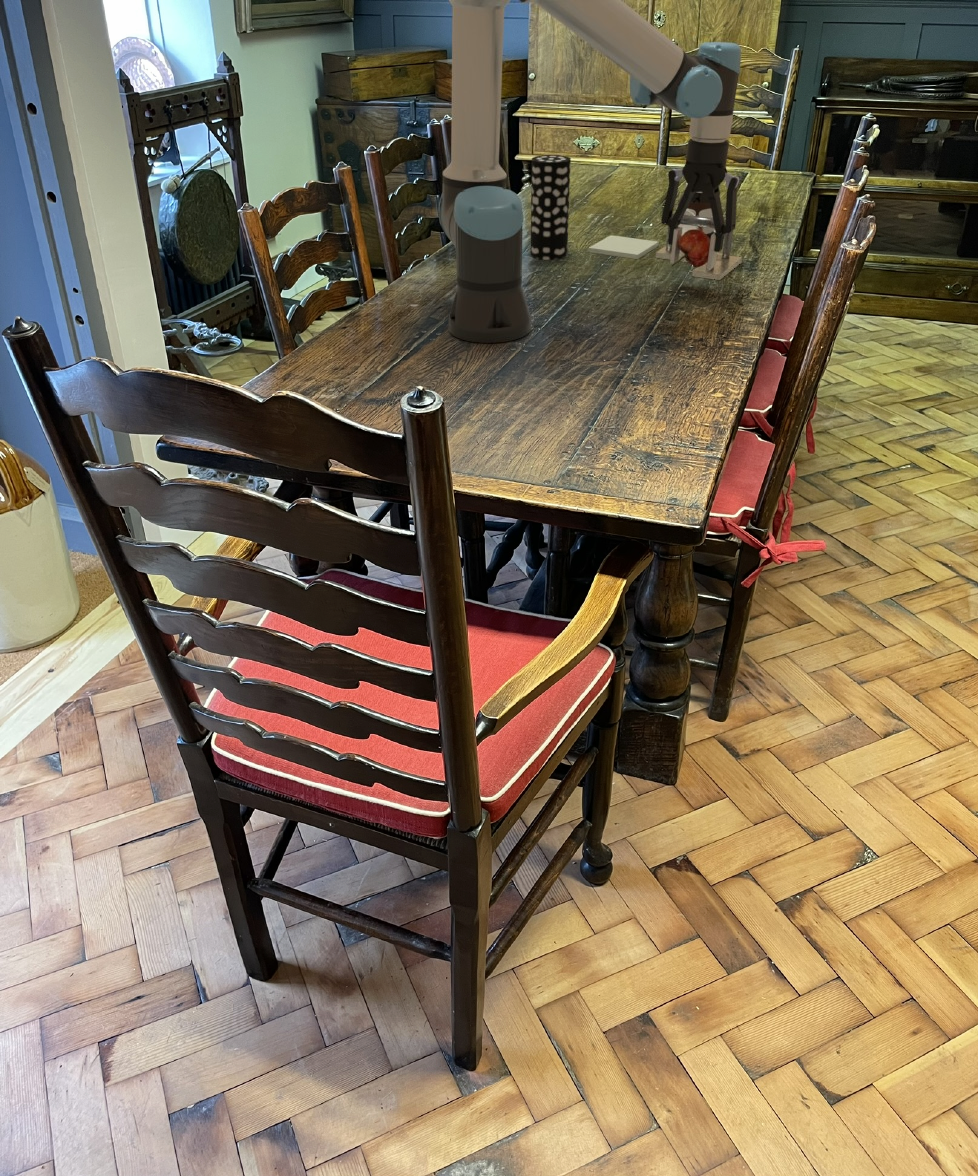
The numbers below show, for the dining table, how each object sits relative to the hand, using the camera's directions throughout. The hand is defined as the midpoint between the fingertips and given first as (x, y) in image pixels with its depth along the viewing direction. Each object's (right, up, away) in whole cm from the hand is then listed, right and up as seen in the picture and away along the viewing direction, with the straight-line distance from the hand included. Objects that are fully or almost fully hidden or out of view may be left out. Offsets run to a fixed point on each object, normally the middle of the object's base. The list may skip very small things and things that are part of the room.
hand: (692, 264), depth 186 cm
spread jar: (+7, +18, +35) cm, 40 cm away
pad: (-10, +13, +27) cm, 32 cm away
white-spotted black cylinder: (-27, +10, +24) cm, 38 cm away
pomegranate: (0, 0, 0) cm, 1 cm away
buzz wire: (+3, +6, +16) cm, 17 cm away
